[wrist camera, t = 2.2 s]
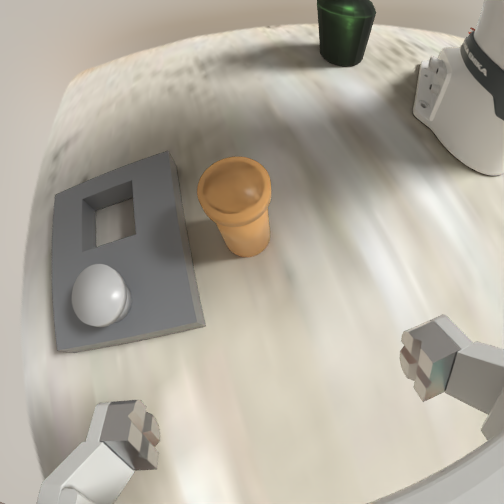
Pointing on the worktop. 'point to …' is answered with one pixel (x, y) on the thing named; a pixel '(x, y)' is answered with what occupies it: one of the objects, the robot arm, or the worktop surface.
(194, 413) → the worktop surface
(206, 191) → the mushroom head peg
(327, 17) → the potion bottle
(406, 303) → the worktop surface
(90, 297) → the gray peg hole board
